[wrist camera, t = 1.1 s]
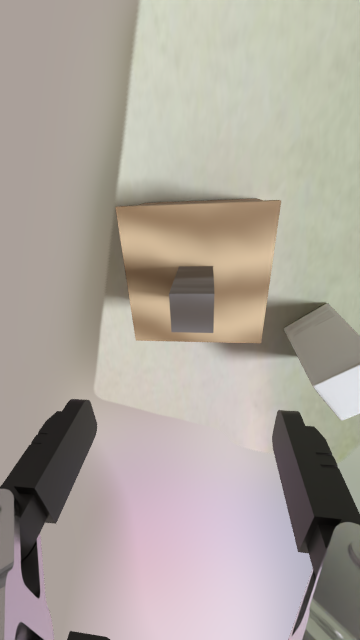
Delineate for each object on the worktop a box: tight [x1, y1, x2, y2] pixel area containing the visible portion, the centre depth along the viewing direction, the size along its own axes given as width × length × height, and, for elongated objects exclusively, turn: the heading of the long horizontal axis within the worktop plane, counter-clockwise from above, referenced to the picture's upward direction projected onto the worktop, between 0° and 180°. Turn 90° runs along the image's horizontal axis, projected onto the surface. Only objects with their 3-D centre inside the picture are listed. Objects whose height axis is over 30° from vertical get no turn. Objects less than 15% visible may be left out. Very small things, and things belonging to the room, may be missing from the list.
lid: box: [116, 200, 281, 343], centre depth 23 cm, size 15×15×8 cm
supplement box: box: [284, 303, 360, 420], centre depth 33 cm, size 7×7×13 cm
